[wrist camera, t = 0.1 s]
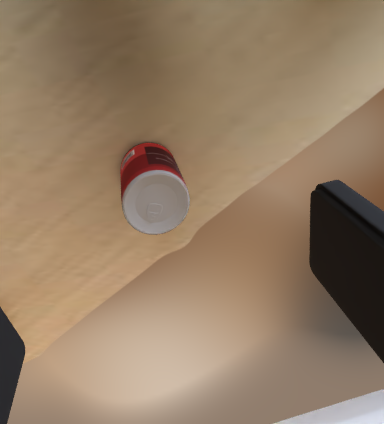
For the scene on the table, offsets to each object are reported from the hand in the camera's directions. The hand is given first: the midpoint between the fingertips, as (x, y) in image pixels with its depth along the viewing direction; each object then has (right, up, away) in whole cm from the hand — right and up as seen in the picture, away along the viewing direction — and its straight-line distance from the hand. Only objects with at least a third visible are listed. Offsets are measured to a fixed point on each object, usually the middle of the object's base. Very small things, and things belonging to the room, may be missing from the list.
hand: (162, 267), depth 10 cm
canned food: (-5, +8, +38) cm, 39 cm away
